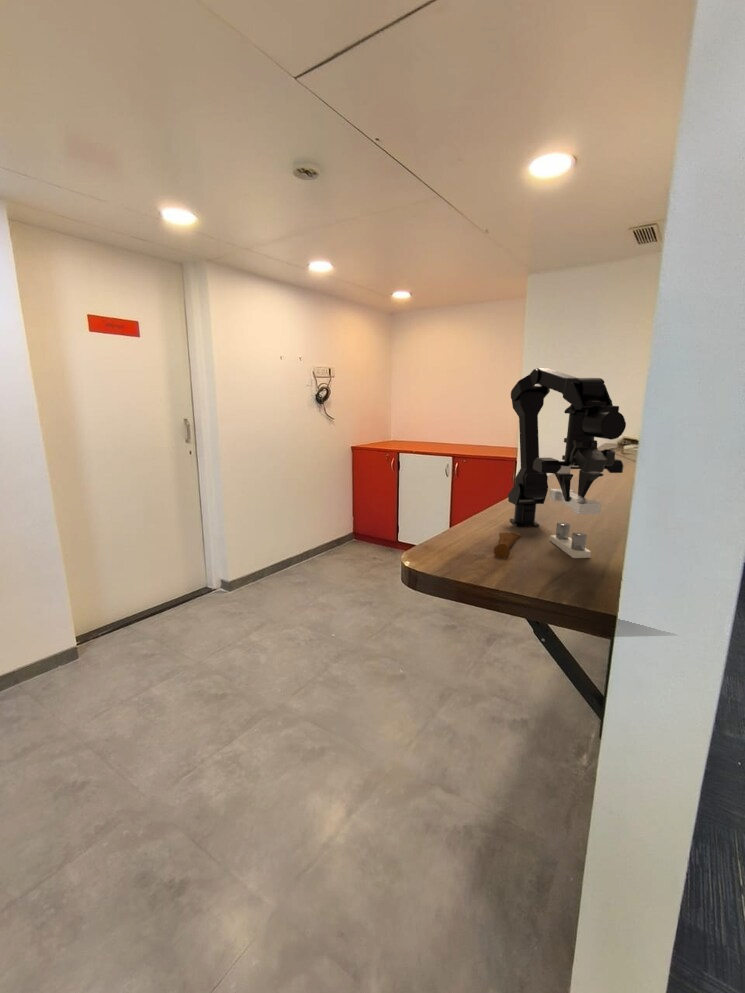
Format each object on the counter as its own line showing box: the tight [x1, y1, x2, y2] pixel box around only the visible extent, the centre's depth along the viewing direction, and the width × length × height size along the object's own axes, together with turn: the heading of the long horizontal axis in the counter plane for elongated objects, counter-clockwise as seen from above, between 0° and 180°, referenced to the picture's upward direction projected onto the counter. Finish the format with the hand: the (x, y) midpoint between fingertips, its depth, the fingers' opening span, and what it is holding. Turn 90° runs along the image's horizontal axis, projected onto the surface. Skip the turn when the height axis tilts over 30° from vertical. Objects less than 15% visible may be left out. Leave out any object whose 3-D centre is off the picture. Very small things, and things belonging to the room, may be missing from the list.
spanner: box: [548, 488, 602, 516], centre depth 104 cm, size 5×15×2 cm, turn 3°
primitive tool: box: [493, 532, 521, 558], centre depth 110 cm, size 19×6×4 cm, turn 160°
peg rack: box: [549, 521, 592, 559], centre depth 107 cm, size 12×4×5 cm, turn 3°
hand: (573, 501), depth 104 cm, fingers closed on spanner, 3 cm apart
